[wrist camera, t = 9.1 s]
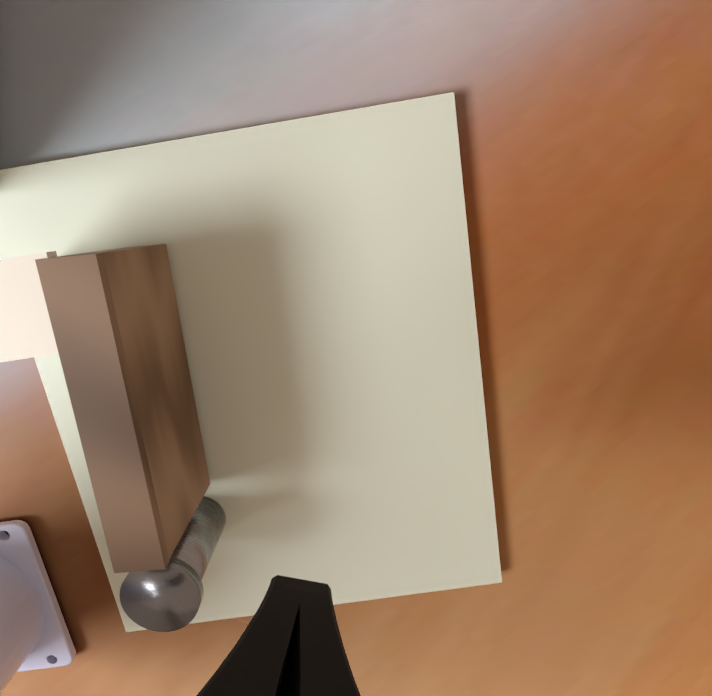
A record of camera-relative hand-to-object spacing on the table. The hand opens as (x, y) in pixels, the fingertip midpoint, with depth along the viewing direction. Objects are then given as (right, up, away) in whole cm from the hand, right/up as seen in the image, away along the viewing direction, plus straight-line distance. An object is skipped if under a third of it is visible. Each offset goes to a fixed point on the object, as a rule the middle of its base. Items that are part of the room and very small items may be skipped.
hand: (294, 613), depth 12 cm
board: (-2, +4, +10) cm, 11 cm away
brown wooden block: (-6, +5, +8) cm, 12 cm away
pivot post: (-5, -1, +11) cm, 12 cm away
